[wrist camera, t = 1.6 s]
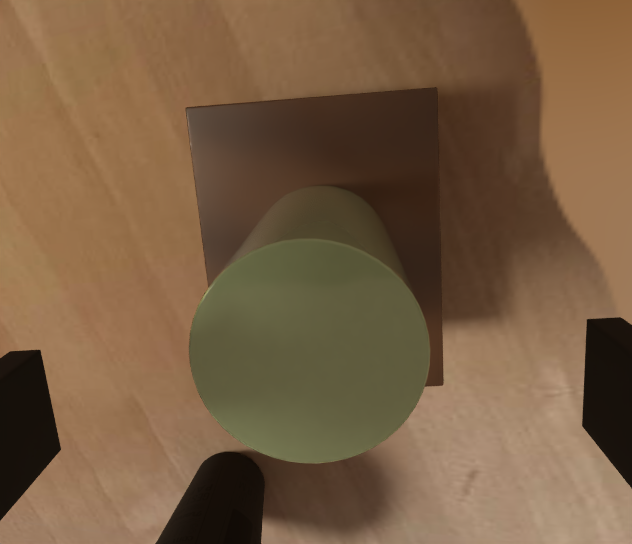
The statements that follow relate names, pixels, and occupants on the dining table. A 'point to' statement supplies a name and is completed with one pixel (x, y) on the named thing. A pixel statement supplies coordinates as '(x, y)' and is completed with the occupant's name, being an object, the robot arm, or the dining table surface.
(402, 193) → the walnut chest
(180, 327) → the dining table surface
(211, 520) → the drinking cup
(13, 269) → the dining table surface
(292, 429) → the canister
